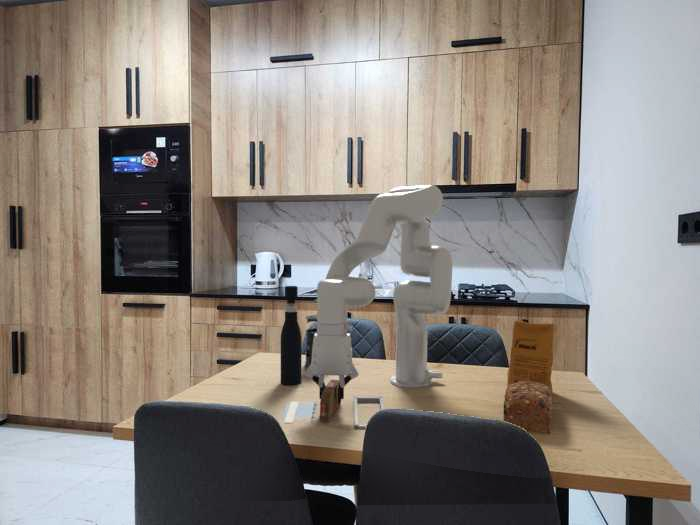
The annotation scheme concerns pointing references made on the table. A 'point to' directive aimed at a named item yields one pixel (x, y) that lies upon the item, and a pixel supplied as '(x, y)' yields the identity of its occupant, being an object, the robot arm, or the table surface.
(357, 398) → the tray
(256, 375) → the table surface
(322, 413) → the tin
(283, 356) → the black water bottle
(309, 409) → the ticket board
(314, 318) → the french press
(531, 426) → the bread
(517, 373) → the coffee package
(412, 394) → the table surface
